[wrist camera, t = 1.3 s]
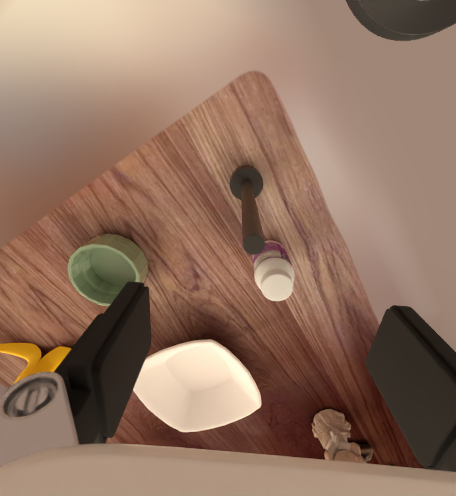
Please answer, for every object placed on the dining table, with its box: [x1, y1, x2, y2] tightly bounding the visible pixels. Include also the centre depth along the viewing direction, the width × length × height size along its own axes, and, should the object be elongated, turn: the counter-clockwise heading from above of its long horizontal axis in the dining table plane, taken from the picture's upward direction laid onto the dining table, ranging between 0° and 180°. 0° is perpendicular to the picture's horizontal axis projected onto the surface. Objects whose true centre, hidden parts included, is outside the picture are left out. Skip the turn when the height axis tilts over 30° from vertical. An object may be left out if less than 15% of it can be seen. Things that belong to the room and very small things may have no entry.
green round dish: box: [67, 234, 148, 306], centre depth 41 cm, size 11×11×4 cm
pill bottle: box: [253, 240, 295, 301], centre depth 36 cm, size 5×5×10 cm
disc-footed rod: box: [230, 166, 265, 255], centre depth 26 cm, size 4×4×22 cm
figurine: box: [312, 409, 367, 464], centre depth 48 cm, size 9×8×20 cm
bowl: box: [133, 339, 261, 432], centre depth 49 cm, size 22×22×5 cm
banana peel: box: [0, 343, 71, 383], centre depth 44 cm, size 17×19×17 cm
